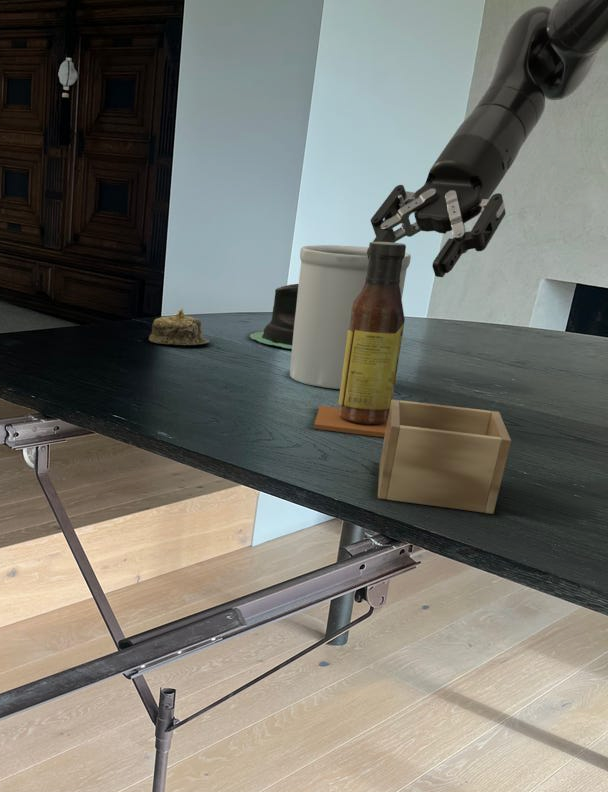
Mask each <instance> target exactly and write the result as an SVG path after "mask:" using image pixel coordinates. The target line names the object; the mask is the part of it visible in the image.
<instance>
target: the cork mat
mask: <svg viewBox="0 0 608 792" xmlns="http://www.w3.org/2000/svg"><path fill="white" fill-rule="evenodd" d="M338 408H339V407H336V406H327V405H319V407H318V411H317V414H316V417H315V418H316V419H315V421H314V425H313V429H315V430H320V431H328V432H336V433H343V434H344V433H345V434H352V435H360V436H368V437H377V438H384V437H385V431H386V426H387V421H388V419H387V421H386V422H384V423H381V424H359V423H354V422H350V421H347V420H344V419H342V418H341V417H340V416H339V415H338Z"/></svg>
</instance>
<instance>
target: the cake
mask: <svg viewBox="0 0 608 792" xmlns="http://www.w3.org/2000/svg"><path fill="white" fill-rule="evenodd" d="M151 330H152V331H151V334H149V337H148V341H149V342H151V343H155V344H163V345H176V346H197V345H205V344H208V343H210V342H211V340H209V339H208V338H207V339H206V338H204V337H203V335H202V333H203V330H202V321H201V319H199V318H197V317H196V318H195V317H193V316H187V315H185V314H184V309H183V308H181V309H180V310H178V313H176V314H175V315H170V316H161V317H157V318H155V319H154V320H153V322H152V326H151Z"/></svg>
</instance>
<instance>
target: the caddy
mask: <svg viewBox="0 0 608 792" xmlns="http://www.w3.org/2000/svg"><path fill="white" fill-rule="evenodd" d="M511 444H512V439H511V436H510V434H509V432H508V430H507V427H506V424H505V423H504V421H503V418H502V415H501V412H500V411H495V410H486V409H479V408H478V409H477V408H469V407H460V406H452V405H446V404H445V405H443V404H435V403H427V402H420V401H419V402H418V401H409V400H402V399H400V400H399V399H392V400H391V405H390V410H389V415H388V421H387V426H386V431H385V437H383V443H382V447H381V454H380V460H379V464H378V485H377V487H378V488H377V499H379V500H386V501H387V500H388V501H392V502H393V501H394V502H400V503H401V502H402V503H409V504H416V505H424V506H430V507H438V508H444V509H445V508H446V509H454V510H459V511H461V510H462V511H468V512H474V513H483V514H490V515H493V514H494V513H495V509H496V506H497V501H498V497H499V492H500V488H501V485H502V481H503V476H504V473H505V468H506V464H507V459H508V456H509V453H510V447H511Z"/></svg>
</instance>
